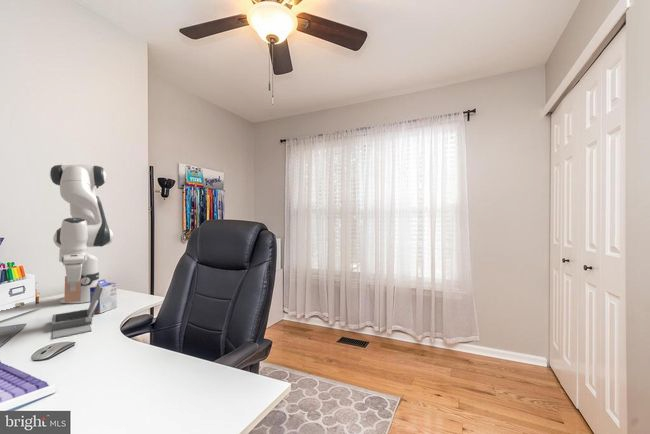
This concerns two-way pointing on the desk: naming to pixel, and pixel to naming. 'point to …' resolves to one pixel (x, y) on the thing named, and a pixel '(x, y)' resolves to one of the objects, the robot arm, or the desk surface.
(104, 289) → the ink cartridge box
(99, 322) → the desk surface
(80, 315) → the case
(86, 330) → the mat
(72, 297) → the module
